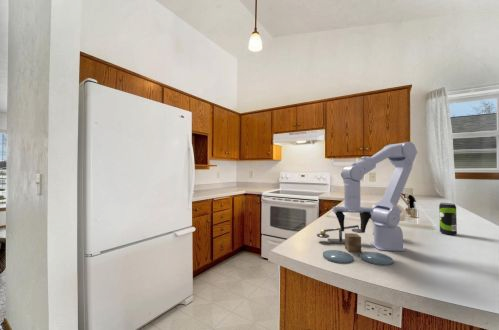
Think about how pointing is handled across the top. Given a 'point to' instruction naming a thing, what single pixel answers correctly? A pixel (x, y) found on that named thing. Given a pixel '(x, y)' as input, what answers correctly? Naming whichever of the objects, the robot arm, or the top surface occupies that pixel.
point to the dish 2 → (376, 258)
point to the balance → (340, 240)
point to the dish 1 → (337, 256)
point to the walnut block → (352, 242)
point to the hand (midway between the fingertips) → (352, 231)
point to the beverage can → (448, 218)
